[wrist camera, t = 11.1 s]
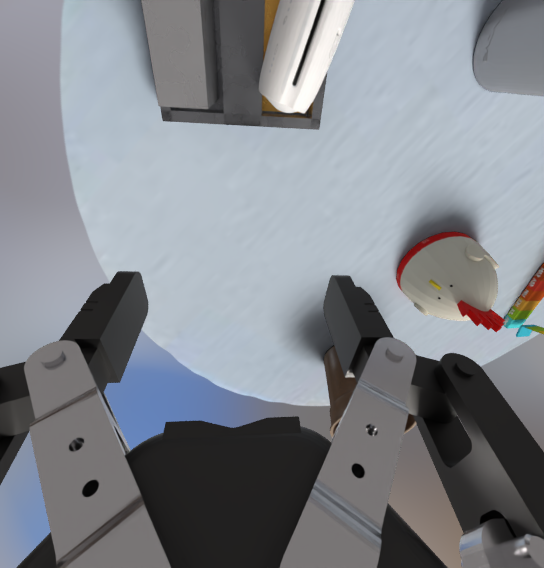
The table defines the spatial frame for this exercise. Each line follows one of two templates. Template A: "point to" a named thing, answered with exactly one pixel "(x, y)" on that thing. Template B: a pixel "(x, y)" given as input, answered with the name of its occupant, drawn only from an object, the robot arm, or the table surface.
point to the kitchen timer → (451, 279)
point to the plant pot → (343, 390)
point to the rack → (216, 63)
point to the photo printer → (301, 51)
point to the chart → (527, 306)
